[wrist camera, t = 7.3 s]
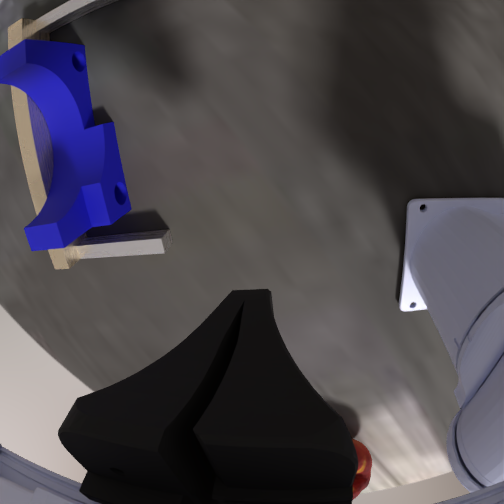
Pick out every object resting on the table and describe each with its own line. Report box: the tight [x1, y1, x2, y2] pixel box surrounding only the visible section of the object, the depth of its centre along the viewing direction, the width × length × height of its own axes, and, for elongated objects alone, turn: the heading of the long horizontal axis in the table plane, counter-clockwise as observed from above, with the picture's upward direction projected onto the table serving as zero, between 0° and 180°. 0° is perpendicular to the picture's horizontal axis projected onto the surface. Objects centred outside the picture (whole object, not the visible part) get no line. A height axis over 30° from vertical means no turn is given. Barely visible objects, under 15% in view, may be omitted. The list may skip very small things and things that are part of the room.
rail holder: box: [8, 0, 173, 269], centre depth 17 cm, size 8×18×3 cm, turn 7°
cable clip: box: [0, 39, 131, 251], centre depth 16 cm, size 12×4×6 cm, turn 7°
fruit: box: [352, 439, 372, 499], centre depth 26 cm, size 8×8×8 cm
